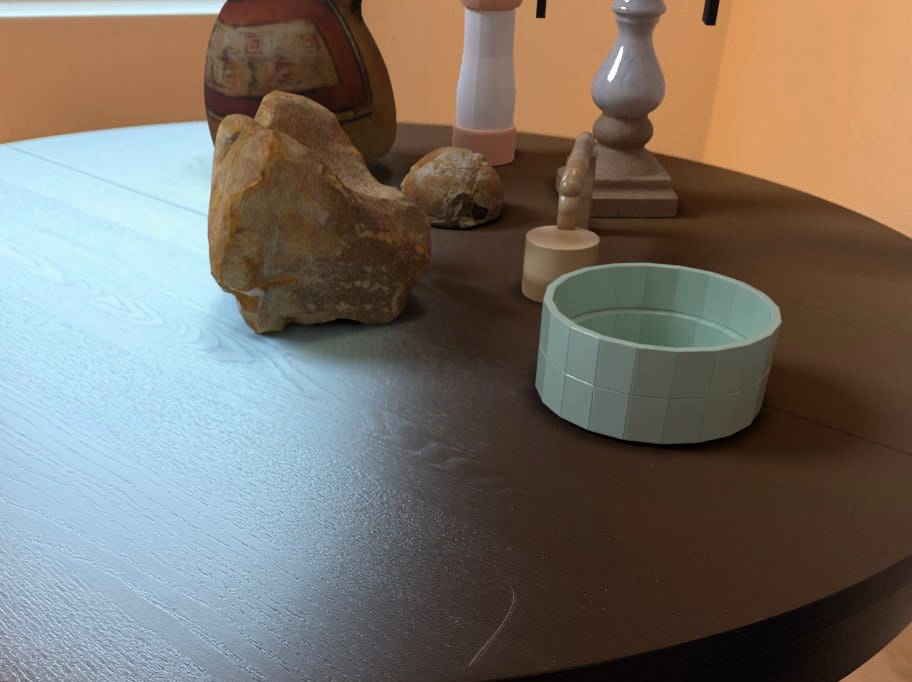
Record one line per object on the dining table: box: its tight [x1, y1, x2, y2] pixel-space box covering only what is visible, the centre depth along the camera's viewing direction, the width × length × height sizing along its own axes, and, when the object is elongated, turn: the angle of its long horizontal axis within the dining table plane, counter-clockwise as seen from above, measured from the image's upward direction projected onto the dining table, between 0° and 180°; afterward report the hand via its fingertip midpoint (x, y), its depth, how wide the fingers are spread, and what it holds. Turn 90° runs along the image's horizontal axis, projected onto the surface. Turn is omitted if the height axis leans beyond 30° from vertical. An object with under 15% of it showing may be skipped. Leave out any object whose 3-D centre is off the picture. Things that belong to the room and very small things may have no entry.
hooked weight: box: [521, 131, 601, 304], centre depth 90 cm, size 22×6×9 cm, turn 169°
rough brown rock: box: [207, 90, 433, 335], centre depth 79 cm, size 23×17×15 cm
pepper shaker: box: [451, 0, 524, 167], centre depth 114 cm, size 7×7×19 cm
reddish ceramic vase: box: [203, 0, 398, 165], centre depth 104 cm, size 20×20×30 cm
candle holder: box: [555, 0, 679, 218], centre depth 101 cm, size 11×11×24 cm
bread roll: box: [400, 145, 505, 230], centre depth 102 cm, size 10×10×8 cm
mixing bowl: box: [534, 262, 783, 445], centre depth 69 cm, size 15×15×7 cm
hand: (624, 20), depth 84 cm, fingers open, 13 cm apart
